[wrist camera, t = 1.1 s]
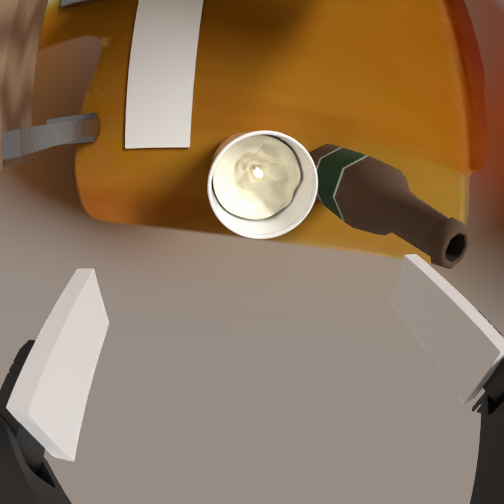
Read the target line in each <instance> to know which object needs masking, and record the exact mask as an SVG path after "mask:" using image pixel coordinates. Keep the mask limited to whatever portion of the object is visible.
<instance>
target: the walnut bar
mask: <svg viewBox="0 0 504 504" xmlns="http://www.w3.org/2000/svg"><path fill="white" fill-rule="evenodd" d="M47 3H48V0H0V172H2V171H5V170H7V169H10V168H12V167H15V166H17V165H20V164H22V163H25V162H27V161H30V160H33V153H30V154H27V155H24V156H21V157H15V158H10V159H4V160H2V150H1V133H4V132H8V131H12V130H17V129H21V128H27V127H32V109H33V89H34V78H35V68H36V59H37V53H38V46H39V40H40V35H41V29H42V24H43V20H44V15H45V11H46V7H47Z"/></svg>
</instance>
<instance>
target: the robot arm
mask: <svg viewBox="0 0 504 504" xmlns="http://www.w3.org/2000/svg"><path fill="white" fill-rule="evenodd" d="M389 304H390V305H391V307H392V308H393V309H394V310H395V312H396V313H397V314H398V316H399V317H400V318H401V319H402V321H403V322H404V323H405V325H406V326H407V327H408V328H409V330H410V331H411V332H412V334H413V335H414V336H415V338H416V339H417V340H418V342H419V343H420V344H421V346H422V347H423V348H424V350H425V351H426V352H427V354H428V355H429V356H430V358H431V359H432V360H433V362H434V363H435V365H436V366H437V367H438V369H439V370H440V371H441V373H442V374H443V376H444V377H445V379H446V380H447V382H448V383H449V384H450V386H451V387H452V389H453V390H454V392H455V393H456V395H457V396H458V398H459V399H460V401H461V402H462V403H463V404H464V403H466V402H468V401H470V400H471V399H473V398H475V396H476V395H477V394H478V393H479V391H480V390H481V389H482V388H484V390H485V392H484V394H483V395H482V396H481V397H480V399H479V400H478V401H477V402H476V404H475V405H474V406H473V408H472V411H474V410H475V409H476V408H477V407H478V406H479V405H480V404H481V406H480V408H479V409H478V410H477V412H479V413H481V430H480V443H479V453H478V462H477V468H476V475H475V481H474V486H473V492H472V496H471V501H470V504H504V337H503V336H502V335H501V333H500V332H499V331H498V330H497V329H496V328H495V327H494V326H492V324H491V323H490V322H489V321H488V320H486V318H485V317H484V316H483V315H482V313H480V311H478V310H477V309H475V308H474V307H473V306H472V305H471V304H470V303H469V302H468V301H467V300H466V299H465V298H464V297H463V296H462V295H461V294H460V293H459V292H458V291H457V290H456V289H455V288H453V286H452V285H450V284H449V283H448V282H447V281H446V280H445V279H444V278H443V277H442V276H441V275H439V274H438V273H437V272H436V271H435V270H434V269H433V268H432V267H431V266H429V265H428V264H427V263H426V262H425V261H424V260H423V259H421V258H420V257H419V256H418V255H417V254H411V255H404V258H403V262H402V266H401V269H400V272H399V275H398V279H397V282H396V285H395V288H394V291H393V294H392V297H391V300H390V303H389ZM108 326H109V321H108V317H107V314H106V311H105V308H104V304H103V301H102V297H101V294H100V290H99V287H98V283H97V279H96V275H95V271H94V269H77V270H76V272H75V273H74V275H73V276H72V278H71V280H70V281H69V283H68V284H67V286H66V288H65V289H64V291H63V293H62V294H61V296H60V298H59V299H58V301H57V303H56V304H55V306H54V308H53V310H52V312H51V313H50V315H49V317H48V318H47V320H46V322H45V324H44V326H43V328H42V329H41V331H40V333H39V335H38V337H37V339H36V341H34V340H29V341H28V342H27V343H26V344H25V345H24V346H23V347H22V348H21V349H20V350H19V352H18V354H17V355H16V358H15V359H14V364H12V366H11V368H10V370H9V373H8V374H7V376H6V378H5V381H4V383H3V385H2V388H1V390H0V504H71V502H70V500H69V499H68V497H67V496H66V494H65V492H64V491H63V489H62V487H61V486H60V484H59V482H58V480H57V479H56V477H55V475H54V473H53V471H52V469H51V468H50V466H49V464H48V462H47V461H46V459H45V458H44V457H43V455H44V451H45V449H46V450H47V451H48V452H49V453H50V454H51V455H52V456H53V457H56V458H60V459H65V460H69V461H74V460H75V454H76V448H77V443H78V438H79V433H80V428H81V424H82V419H83V414H84V410H85V406H86V402H87V397H88V394H89V390H90V386H91V382H92V379H93V375H94V371H95V368H96V364H97V361H98V357H99V354H100V351H101V348H102V344H103V341H104V338H105V335H106V332H107V329H108Z"/></svg>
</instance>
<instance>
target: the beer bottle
mask: <svg viewBox="0 0 504 504" xmlns="http://www.w3.org/2000/svg"><path fill="white" fill-rule="evenodd" d="M309 154H310V156H311V158H312V160H313V162H314V164H315V167H316V171H317V176H318V189H317V195H316V199H317V200H318V201H320V202H321V203H322V204H323V205H325V206H326V207H327V208H328V209H329V210H331V211H332V212H333V213H334V214H336V215H337V216H338V217H339V218H340V219H342V220H343V221H344V222H345V223H347V224H348V225H350V226H352V227H353V228H356V229H360V230H363V231H367V232H370V233H374V234H379V235H386V234H389V233H391V232H392V233H394V234H396V235H397V236H399V237H401V238H402V239H404V240H405V241H407V242H409V243H410V244H412V245H413V246H415V247H417V248H418V249H420V250H421V251H423V252H424V253H426V254H427V255H429V256H430V257H431V263H433V264H436V265H439V266H442V267H445V268H449V269H451V268H452V267H454V266H455V265H456V264H457V263H459V262H460V261H461V260H462V259H463V257H464V255H465V253H466V250H467V248H468V246H469V232H468V229H467V228H466V226H465V225H464V224H463V223H462V222H460V221H458V220H456V219H454V218H452V217H451V218H450V219H449V218H447V217H446V216H444V215H443V214H441V213H440V212H438V211H437V210H435V209H434V208H432V207H431V206H429V205H428V204H426V203H425V202H423V201H421V200H420V199H418V198H417V197H416V196H415V195H414V194H413V193H411V192H410V190H409V187H408V183H407V180H406V178H405V176H404V175H403V174H402V173H401V171H400V170H398V169H396V168H394V167H392V166H390V165H388V164H386V163H384V162H381V161H379V160H377V159H375V158H372V157H370V156H367V155H364V154H361V153H358V152H355V151H351V150H348V149H345V148H341V147H338V146H334V145H329V144H326V145H325V146H323V147H321V148H319V149H317V150H315V151H313V152H311V153H309Z"/></svg>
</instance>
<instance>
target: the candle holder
mask: <svg viewBox="0 0 504 504" xmlns="http://www.w3.org/2000/svg"><path fill="white" fill-rule="evenodd" d="M317 189H318V176H317V171H316V167H315V164H314V162H313V160H312V158H311V156H310V154H309V153H308V152H307V150H306V149H305V148H304V147H303V146H302V145H301V144H300V143H299V142H297V141H296V140H295V139H293V138H291V137H289V136H287V135H285V134H282V133H279V132H275V131H254V132H241V133H237V134H234V135H232V136H230V137H228V138H227V139H225V140H224V141H223V142H222V143H221V144H220V145H219V146H218V148H217V150H216V151H215V154H214V156H213V160H212V164H211V168H210V172H209V175H208V182H207V192H208V198H209V202H210V205H211V207H212V210H213V212H214V213H215V215H216V217H217V218H218V219H219V220H220V222H221V223H222V224H223V225H224V226H226V227H227V228H228V229H230V230H231V231H233V232H234V233H236V234H238V235H241V236H244V237H247V238H253V239H268V238H273V237H277V236H280V235H283V234H285V233H287V232H289V231H290V230H292V229H294V228H295V227H296V226H297V225H299V224H300V223H301V222H302V221H303V220H304V219H305V217H306V216H307V215H308V213H309V212H310V210H311V208H312V206H313V204H314V202H315V199H316V195H317Z"/></svg>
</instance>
